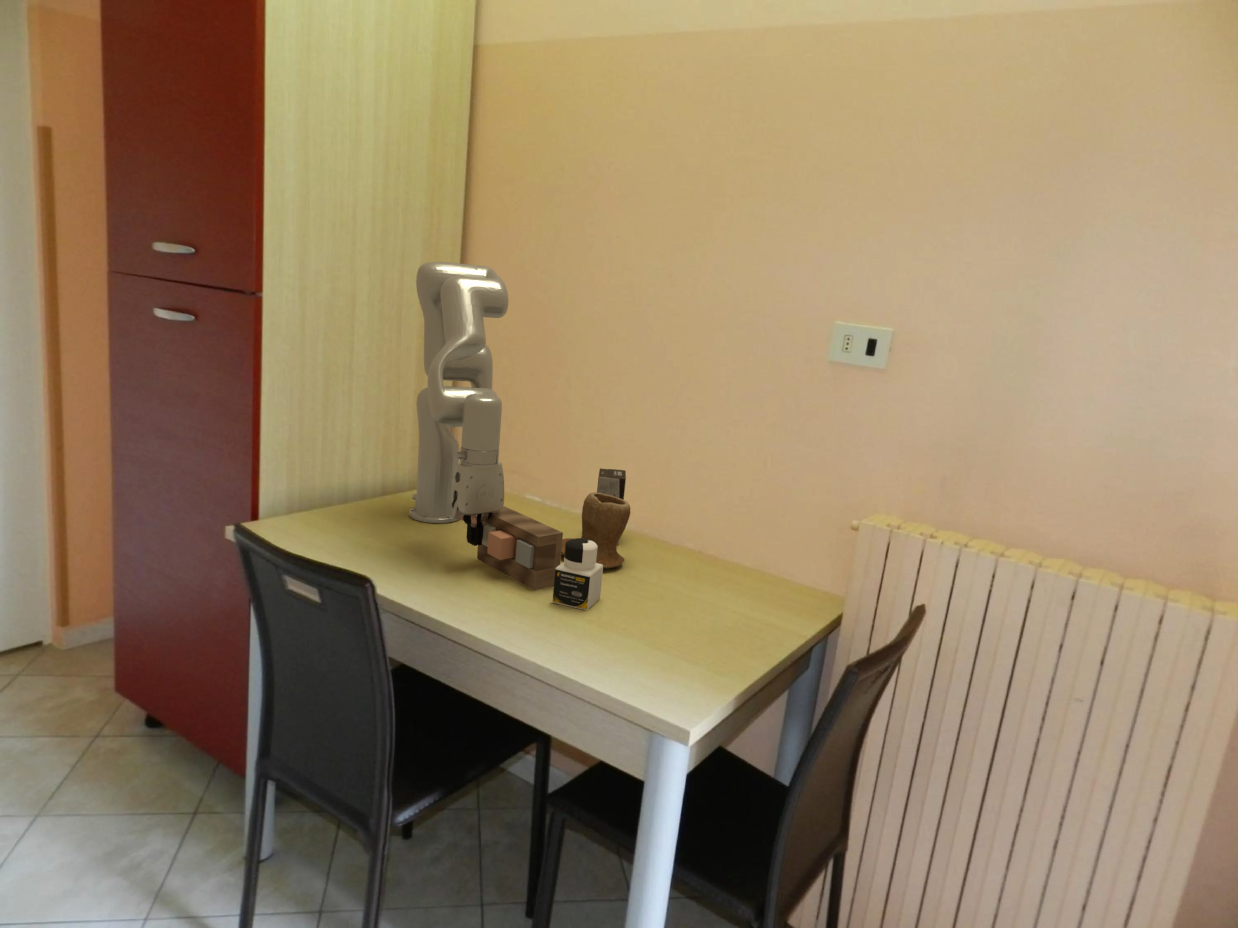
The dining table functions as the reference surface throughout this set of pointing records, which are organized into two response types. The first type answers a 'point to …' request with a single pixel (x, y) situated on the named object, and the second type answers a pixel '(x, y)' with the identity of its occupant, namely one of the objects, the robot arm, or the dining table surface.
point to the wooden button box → (534, 533)
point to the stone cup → (604, 526)
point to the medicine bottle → (578, 575)
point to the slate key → (525, 553)
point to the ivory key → (487, 529)
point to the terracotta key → (501, 544)
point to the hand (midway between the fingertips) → (474, 543)
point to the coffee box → (612, 483)
